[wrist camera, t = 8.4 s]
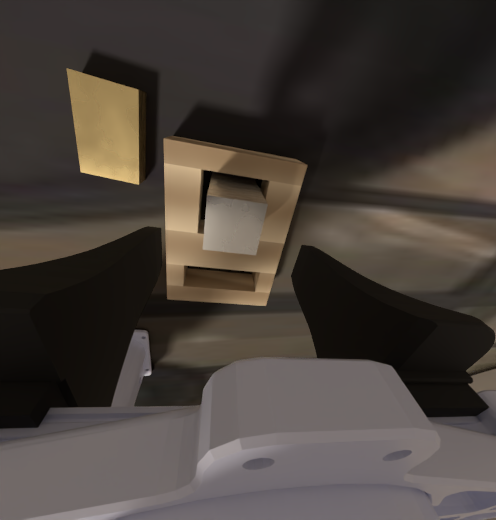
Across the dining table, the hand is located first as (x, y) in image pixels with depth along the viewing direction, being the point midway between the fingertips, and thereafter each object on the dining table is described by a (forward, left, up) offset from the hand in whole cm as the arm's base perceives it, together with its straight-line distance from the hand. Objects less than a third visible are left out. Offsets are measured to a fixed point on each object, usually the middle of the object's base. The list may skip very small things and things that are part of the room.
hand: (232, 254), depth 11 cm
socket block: (-3, 0, -10) cm, 10 cm away
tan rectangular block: (+4, +9, -10) cm, 14 cm away
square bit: (0, 0, -10) cm, 10 cm away
